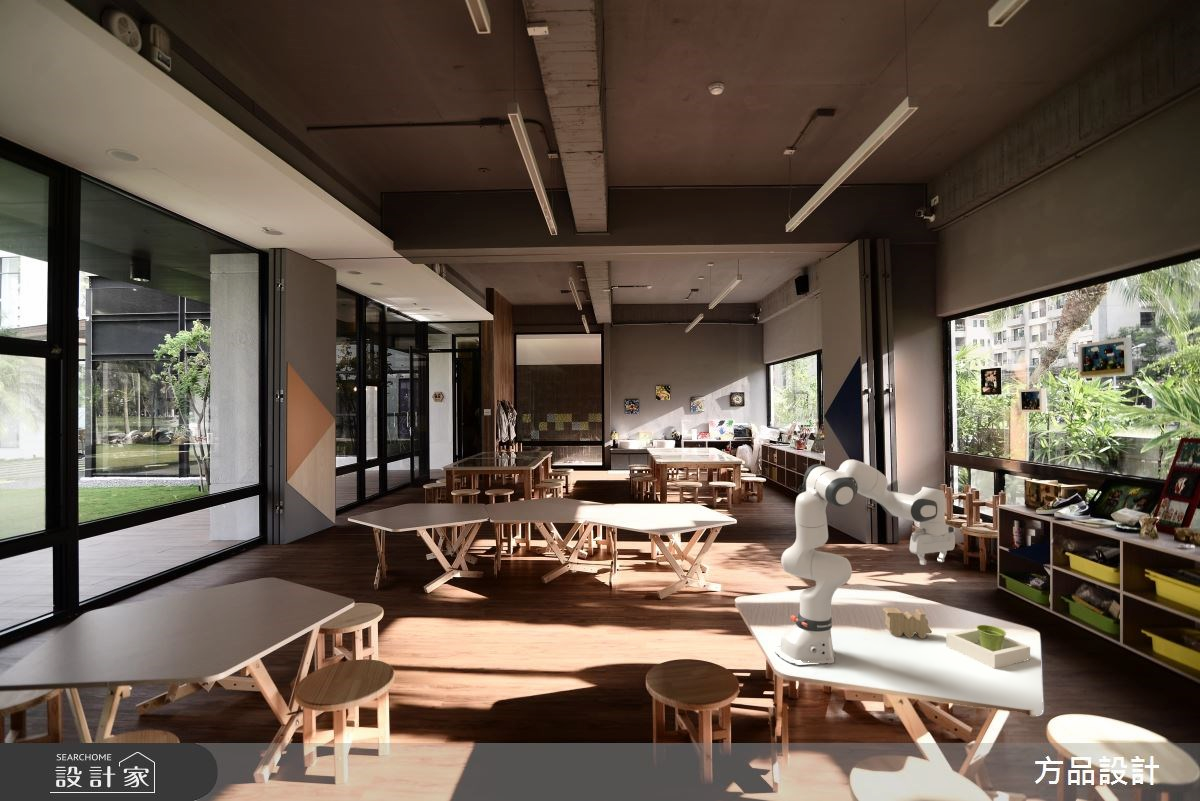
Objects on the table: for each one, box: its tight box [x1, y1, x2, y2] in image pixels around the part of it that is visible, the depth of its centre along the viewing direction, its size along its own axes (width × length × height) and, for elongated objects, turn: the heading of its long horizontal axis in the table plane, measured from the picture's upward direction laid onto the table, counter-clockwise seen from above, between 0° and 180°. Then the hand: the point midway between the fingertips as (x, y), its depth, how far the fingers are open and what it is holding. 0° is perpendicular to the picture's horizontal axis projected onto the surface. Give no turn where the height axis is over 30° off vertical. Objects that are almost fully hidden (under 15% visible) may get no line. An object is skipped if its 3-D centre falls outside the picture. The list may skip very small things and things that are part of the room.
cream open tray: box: [945, 627, 1031, 669], centre depth 219 cm, size 19×19×5 cm
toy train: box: [882, 606, 933, 639], centre depth 235 cm, size 6×17×10 cm, turn 81°
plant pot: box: [976, 624, 1007, 652], centre depth 219 cm, size 9×9×9 cm
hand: (931, 563), depth 223 cm, fingers open, 8 cm apart
